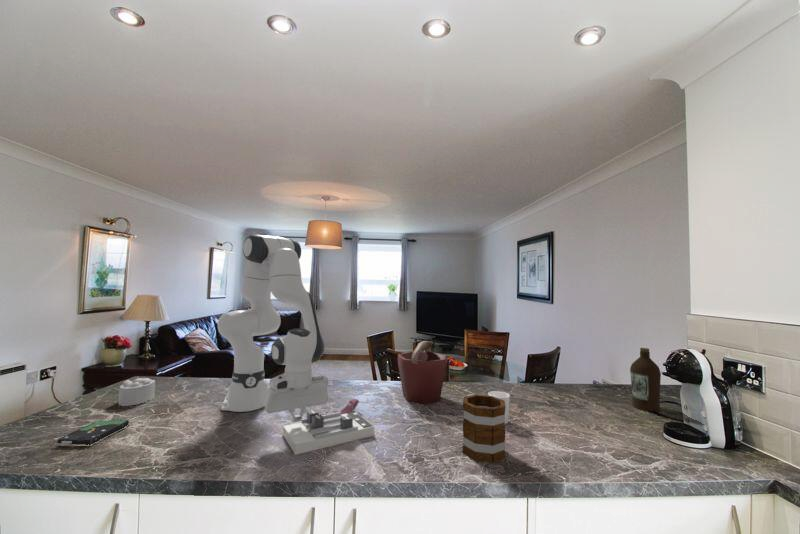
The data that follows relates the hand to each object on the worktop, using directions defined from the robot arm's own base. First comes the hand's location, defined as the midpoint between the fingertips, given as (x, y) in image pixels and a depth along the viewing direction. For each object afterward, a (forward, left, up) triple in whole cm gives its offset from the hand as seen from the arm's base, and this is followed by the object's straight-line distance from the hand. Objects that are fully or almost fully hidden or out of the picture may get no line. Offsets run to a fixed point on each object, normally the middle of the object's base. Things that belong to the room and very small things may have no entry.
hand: (296, 421), depth 112 cm
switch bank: (+5, +9, -5) cm, 12 cm away
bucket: (-10, +59, -5) cm, 60 cm away
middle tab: (+5, +5, -1) cm, 7 cm away
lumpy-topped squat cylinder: (-65, -49, -5) cm, 81 cm away
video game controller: (-9, +22, -5) cm, 25 cm away
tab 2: (+10, +13, -1) cm, 17 cm away
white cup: (+25, +68, -5) cm, 73 cm away
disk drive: (-32, -56, -5) cm, 64 cm away
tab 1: (0, +5, -1) cm, 5 cm away
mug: (+36, +47, -5) cm, 60 cm away
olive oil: (+46, +135, -5) cm, 143 cm away
